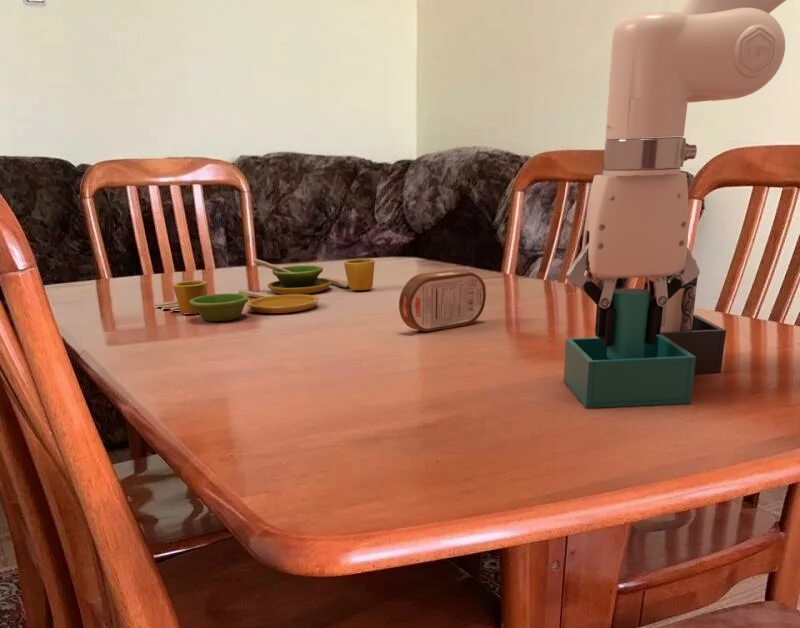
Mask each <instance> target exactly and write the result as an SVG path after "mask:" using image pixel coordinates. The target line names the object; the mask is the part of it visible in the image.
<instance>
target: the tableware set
mask: <svg viewBox="0 0 800 628" xmlns="http://www.w3.org/2000/svg"><path fill="white" fill-rule="evenodd" d="M253 263H254V264H257V265H259V266H262V267H264V268H268V269H271V270H272V271H271V272H272V274H273V275H274V277H276V278H277V280H275V281H271V282H269V283H267V288H268V289H269V290H270V291H271V292H273V293H274V294H272V293H266V292H262V291H252V290H248V289H239V290H237V291H238V292H237V293H233V292H232V293H214V294H208V281H207V280H199V279H198V280H195V279H194V280H184V281H177V282H175V283H173V284H172V288H173V291H174V295H175V298H176V300H173V301H163V302H157V303H155V304H154V306H161V308H160V309H162V308H170V310H172V311H174V310H180V311H179V312H180V313H181V314H182V313H189V314H194V315H199V316H200V317H201V319H202V320H203V321H205V320H206V321H205V322H212V321H220V322H227V321H234V320H237V319H239V318H240V317H241V316H242V312H243V311H244V308H245V305H246V306H247V307H249V308H250V309H251V310H252V311H253V312H257V313H262V314H285V313H296V312H302V311H307V310H309V309H312V308H315V306H316V305H317V303H318V302H319V300H320V298H319V297H318V296H316V295H313V294H314V293H319V292H324V291H326V290H328V289H329V287H330V285H333V284H334V285H337V286H338V287H341V288H348V287H349V289H350V290H352V291H366V290H370V289H372V288H373V286H374V274H375V263H376V261H375V259H373V258H353V259H347V260H345V261H344V262H343V266H344V270H345V274H346V279H347V280H340V279H337V278H332V277H329V276H319V275H321V273H323V271H324V268H323V267H322V266H319V265H290V266H282V267H280V266H278V265H276V264H273V263H270V262H267V261H264V260H261V259H258V258H254V259H253ZM312 293H313V294H312ZM275 294H276V295H275ZM250 297H251V298H254V299H251V300H249V299H250ZM171 304H173V305H171ZM165 305H166V306H165ZM170 310H169V311H170ZM197 313H199V314H197Z"/></svg>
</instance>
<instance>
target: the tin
mask: <svg viewBox="0 0 800 628" xmlns="http://www.w3.org/2000/svg"><path fill="white" fill-rule="evenodd" d="M486 289H487V288H486V284H485V281H484V280H483V279H482V277H481V276H479V275H478V274H477V273H475V272H473V271H469V270H468V269H464V268H457V269H450V270H439V271H431V272H424V273H422V272H421V273H418V274H415V275H414V276H412V277H411V278H410V279H409V280H408V281H406V283H405V285H404V286H403V288H402V290H401V292H400V295H399V299H398V310H399V314H400V318H401V319H402V321H403V322H404V324H405V325H406V326H407V327H409V328H411V329H413V330H416V331H420V332H426V333H427V332H434V331H440V330H445V329H452V328H458V327H465V326H468V325H471V324H473V323H475V321H477V319H478V318H479V317H480V316H481V315H482V313H483V311H484V309H485V306H486V305H485V304H486V300H487V299H486V298H487V290H486Z"/></svg>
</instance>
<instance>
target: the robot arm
mask: <svg viewBox="0 0 800 628" xmlns="http://www.w3.org/2000/svg"><path fill="white" fill-rule="evenodd" d="M786 1H787V0H687V1H686V3H685V4H684V5H683V7H682V8H681V9H680V11H679V12H677V11H653V12H644V13H637V14H632V15H629V16H626V17H624V18H623V19H621V20H620V21H619V22H618V23H617V24H616V26H615V27H614V30H613V33H612V37H611V38H612V39H611V47H610V49H611V50H610V51H611V52H610V64H609V80H608V81H609V82H608V92H607V93H608V95H607V108H606V109H607V111H606V125H605V137H604V139H605V140H604V152H603V166H602V167H603V168H602V169H603V170H602V174H595V175H594V177H593V180H592V184H591V189H590V192H589V197H588V202H587V209H586V214H585V221H584V229H583V235H582V236H583V237H582V243H581V244H582V245H581V251H580V253H579V254H578V255H577V257H576V258H575V259H574V262H573V263H572V264H571V266H570V267H569V268H568V270H567V271H566V273H565V279H566V280H567V281H568V282H570V283H572V285H574V286H576V287H577V288H579V289H581V290H582V291H583V292H584V293H585V295H587V296H588V297H589V298H590V299H591V301H592V302H593V303H594V304H596V308H595V309H596V311H595V324H594V334H595V337H599V341H600V342H601V343H602V344H603V345H604V346H610V345H612V343H613V331H614V318H615V309H613V308H612V302H611V300H612V296H613V293H614V290H616V284H617V282H618V281H617V280H618V279H633V278H634V279H635V278H636V279H638V278H641V279H642V278H646V281H647V290H648V291H650V300H649V311H648V321H647V332H646V343H648V344H649V345H652V344H655V341H656V335H659V334H660V331H661V321H662V311H663V306H665V305H666V304H667V303H668V300H669V299H670V298H671V297H672V296H673V295H674V294H675V293H676V292H677V291H678V290H679V289H680V288H681V287H682V286H683V285H686V284H687V283H689V282H690V281H692V280H693V279H695V278H696V277H697V276H698V277H699V275H700V273H701V271H700V268H699V269H698V267H699V266H698V264H697V265H696V263H697V262H696V263H695V261H694V259H695V258H694V257H693V255H692V254H691V251H690V250H689V248H688V246H689V245H688V242H689V224H690V222H689V220H690V219H689V218H690V217H689V216H690V211H689V210H690V209H689V205H690V204H689V187H688V178H687V176H688V175H687V173H686V172H681V169H682V167H684V163H685V162H687V161H688V160H695V159H696V157H697V151H698V149H697V148H698V147H697V145H696V144H690V143H688V142H687V138H686V137H685V131H686V121H687V113H688V103H699V102H701V103H702V102H711V101H712V102H716V101H727V100H728V101H729V100H734V99H735V100H736V99H740V98H744V97H747V96H750V95H752V94H754V93H756V92H757V91H759V90H761V89H762V88H763V87H765V86H766V85H767V84H769V82H770V81H772V79H773V78H774V77H775V76H776V74H777V73H778V71H779V70H780V67H781V65H782V63H783V60H784V57H785V53H786V38H785V33H784V30H783V28H782V26H781V24H780V23H779V22H778V20H777V18H775V17H774V16H773V15H771V14H770V13H771V12H773V11H774V10H775V9H776V8H778V7H779V6H781V5H782V4H783V3H785V2H786ZM693 258H694V259H693ZM697 266H698V267H697ZM585 272H588V273H590V274H591V275H592V276H594V277H596V278H597V281H596V283H595V282H593V281H592V280H590V279H589V278H588V277H586V275H585ZM675 274H676V275H675ZM672 275H674V276H673V277H670V278H668V279H667V280H666V276H672Z"/></svg>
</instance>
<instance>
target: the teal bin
mask: <svg viewBox="0 0 800 628" xmlns="http://www.w3.org/2000/svg"><path fill="white" fill-rule="evenodd" d="M564 347H565V348H564V368H563V369H564V370H563V382H564V383H565V384H566V385H567V387H568V388H569V389H570V390H571V391H572V393H573V395H575V396H576V398H577V399H578V400H579V402H580V403H581V404H582V405H583V407H584V408H585V409H600V408H621V407H623V408H624V407H641V406H642V407H645V406H646V407H647V406H664V405H665V406H667V405H669V406H670V405H688V404H691V403H692V395H693V387H694V378H695V374H694V371H695V362H696V357H695V356H694V355H692V354H691V353H689V352H688V351H686V350H685V349H683V348H682V347H680V346H679V345H677V344H676V343H674V342H673V341H671V340H669V339H668V338H666V337H665V336H663V335H662V334H660V335H656V341H655V344H652V345H649V344H648V343H646V342H645V353H644V358H632V359H610V358H608V357H607V346H604V345H603V344H602V343H601V342H600V341H599V337H596V336H594V337H573V338H572V337H571V338H565V345H564Z"/></svg>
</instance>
